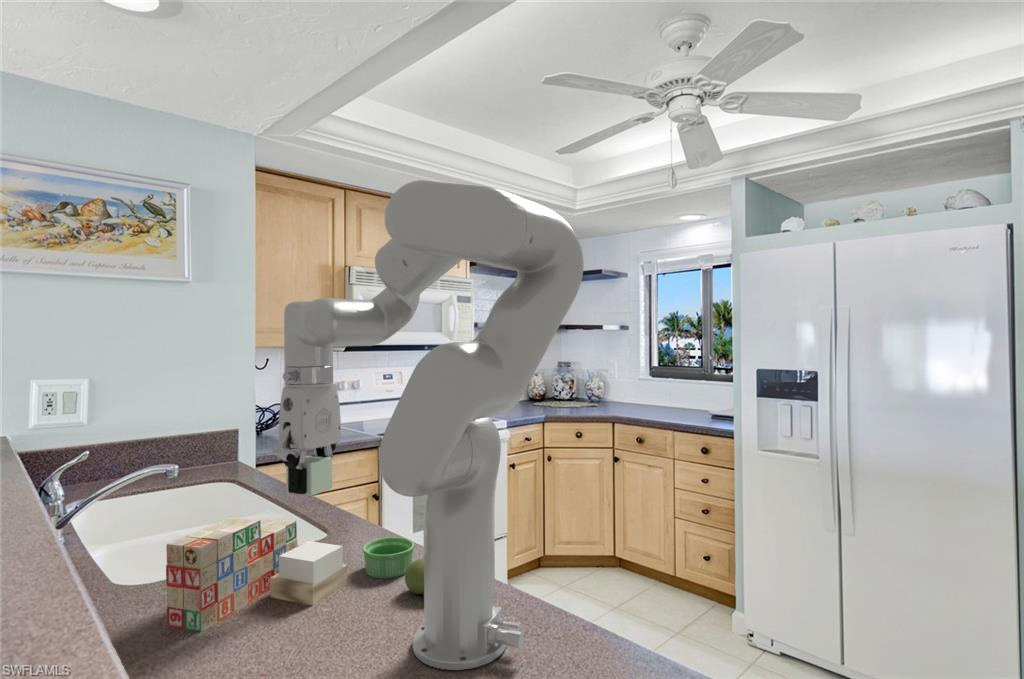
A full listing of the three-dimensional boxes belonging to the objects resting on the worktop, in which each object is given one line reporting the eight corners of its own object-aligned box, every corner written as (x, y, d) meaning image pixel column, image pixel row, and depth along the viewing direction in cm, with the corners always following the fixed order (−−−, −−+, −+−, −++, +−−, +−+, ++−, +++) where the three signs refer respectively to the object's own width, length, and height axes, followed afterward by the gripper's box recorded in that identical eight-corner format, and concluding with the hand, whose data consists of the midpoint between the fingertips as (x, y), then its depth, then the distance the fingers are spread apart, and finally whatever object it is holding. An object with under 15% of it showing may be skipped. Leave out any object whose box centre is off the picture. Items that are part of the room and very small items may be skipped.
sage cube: (332, 487, 94) (332, 457, 94) (311, 495, 89) (311, 464, 89) (308, 485, 96) (307, 455, 95) (286, 492, 91) (286, 461, 91)
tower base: (347, 585, 95) (347, 564, 95) (312, 608, 87) (312, 585, 87) (306, 578, 98) (306, 558, 98) (270, 599, 90) (269, 577, 90)
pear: (422, 549, 95) (470, 571, 90) (418, 579, 96) (466, 603, 91) (400, 560, 91) (449, 584, 86) (396, 592, 91) (444, 617, 86)
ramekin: (398, 583, 95) (397, 557, 95) (352, 576, 98) (352, 551, 98) (423, 563, 104) (423, 539, 104) (380, 557, 107) (380, 534, 107)
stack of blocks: (269, 569, 102) (268, 500, 102) (298, 572, 100) (297, 503, 100) (165, 627, 81) (165, 542, 81) (200, 633, 80) (200, 546, 80)
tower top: (343, 567, 94) (342, 546, 94) (313, 584, 88) (313, 561, 88) (309, 561, 97) (309, 540, 97) (279, 577, 90) (278, 555, 90)
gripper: (289, 381, 83) (290, 505, 83) (360, 374, 99) (360, 478, 99) (250, 380, 86) (251, 500, 86) (325, 373, 101) (325, 474, 102)
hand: (309, 487), depth 92 cm, fingers closed on sage cube, 4 cm apart
